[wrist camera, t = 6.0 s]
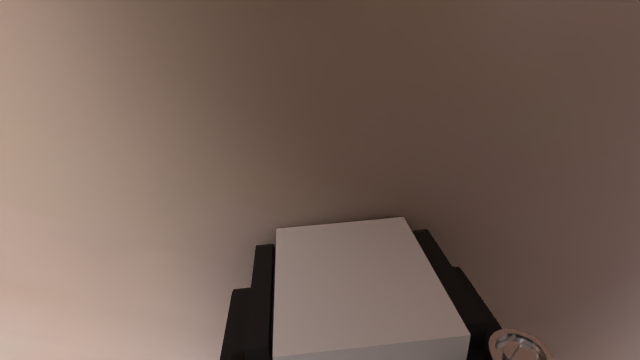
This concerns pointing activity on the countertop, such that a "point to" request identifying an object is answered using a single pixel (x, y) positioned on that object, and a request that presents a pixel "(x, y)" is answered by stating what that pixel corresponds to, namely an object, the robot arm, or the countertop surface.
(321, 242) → the plug
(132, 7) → the countertop surface
